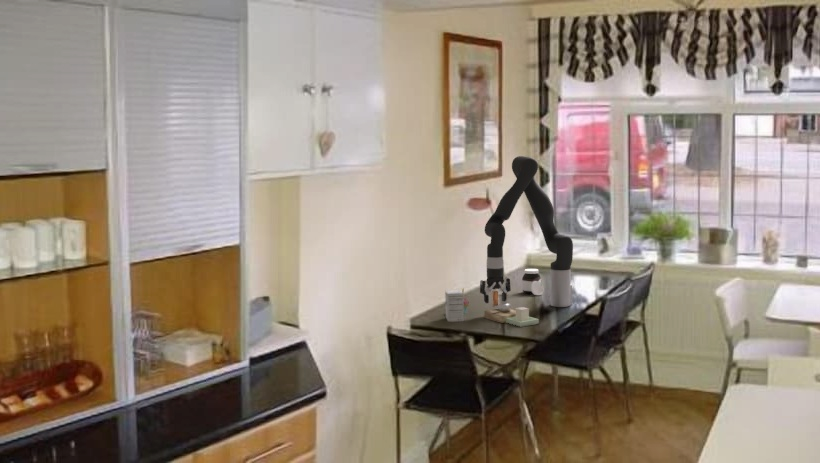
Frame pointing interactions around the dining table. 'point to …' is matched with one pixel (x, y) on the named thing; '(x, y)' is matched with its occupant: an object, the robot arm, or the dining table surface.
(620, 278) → the dining table surface
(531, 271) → the spread jar
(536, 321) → the tray
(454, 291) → the supplement box
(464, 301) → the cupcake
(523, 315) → the block
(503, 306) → the crank
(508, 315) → the plinth
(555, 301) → the robot arm
